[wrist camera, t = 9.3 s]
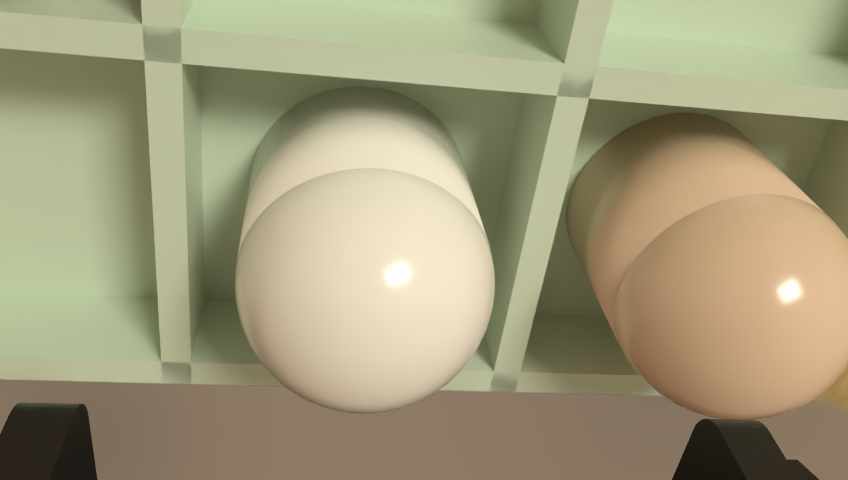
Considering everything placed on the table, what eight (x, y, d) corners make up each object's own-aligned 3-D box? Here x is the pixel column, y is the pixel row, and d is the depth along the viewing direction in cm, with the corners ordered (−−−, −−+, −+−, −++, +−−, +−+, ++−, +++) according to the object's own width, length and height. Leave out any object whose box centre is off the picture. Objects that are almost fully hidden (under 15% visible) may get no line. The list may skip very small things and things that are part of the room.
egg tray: (-419, -632, 10) (-629, -735, 8) (1044, -347, 14) (1185, -363, 11) (-144, 293, 18) (-212, 374, 16) (751, 328, 21) (800, 399, 19)
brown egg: (591, 105, 17) (703, 260, 12) (791, 120, 18) (974, 272, 13) (547, 282, 19) (625, 473, 14) (724, 289, 20) (856, 474, 15)
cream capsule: (252, 77, 16) (219, 234, 11) (479, 96, 16) (546, 251, 12) (249, 269, 18) (222, 470, 13) (448, 277, 19) (491, 471, 14)
